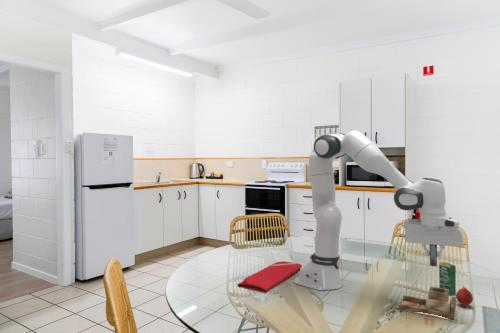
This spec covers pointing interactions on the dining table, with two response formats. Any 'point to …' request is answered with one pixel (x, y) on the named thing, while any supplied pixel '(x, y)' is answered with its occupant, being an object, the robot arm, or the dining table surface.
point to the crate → (438, 300)
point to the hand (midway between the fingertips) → (433, 255)
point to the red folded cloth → (270, 276)
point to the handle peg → (433, 254)
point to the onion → (464, 297)
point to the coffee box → (447, 277)
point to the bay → (413, 306)
